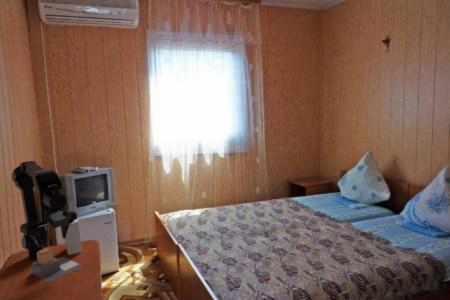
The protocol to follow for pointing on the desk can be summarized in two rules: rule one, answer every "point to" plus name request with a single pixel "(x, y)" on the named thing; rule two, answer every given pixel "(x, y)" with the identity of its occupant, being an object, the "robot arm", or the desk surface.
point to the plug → (44, 257)
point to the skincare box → (73, 239)
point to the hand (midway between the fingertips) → (52, 242)
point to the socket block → (54, 269)
